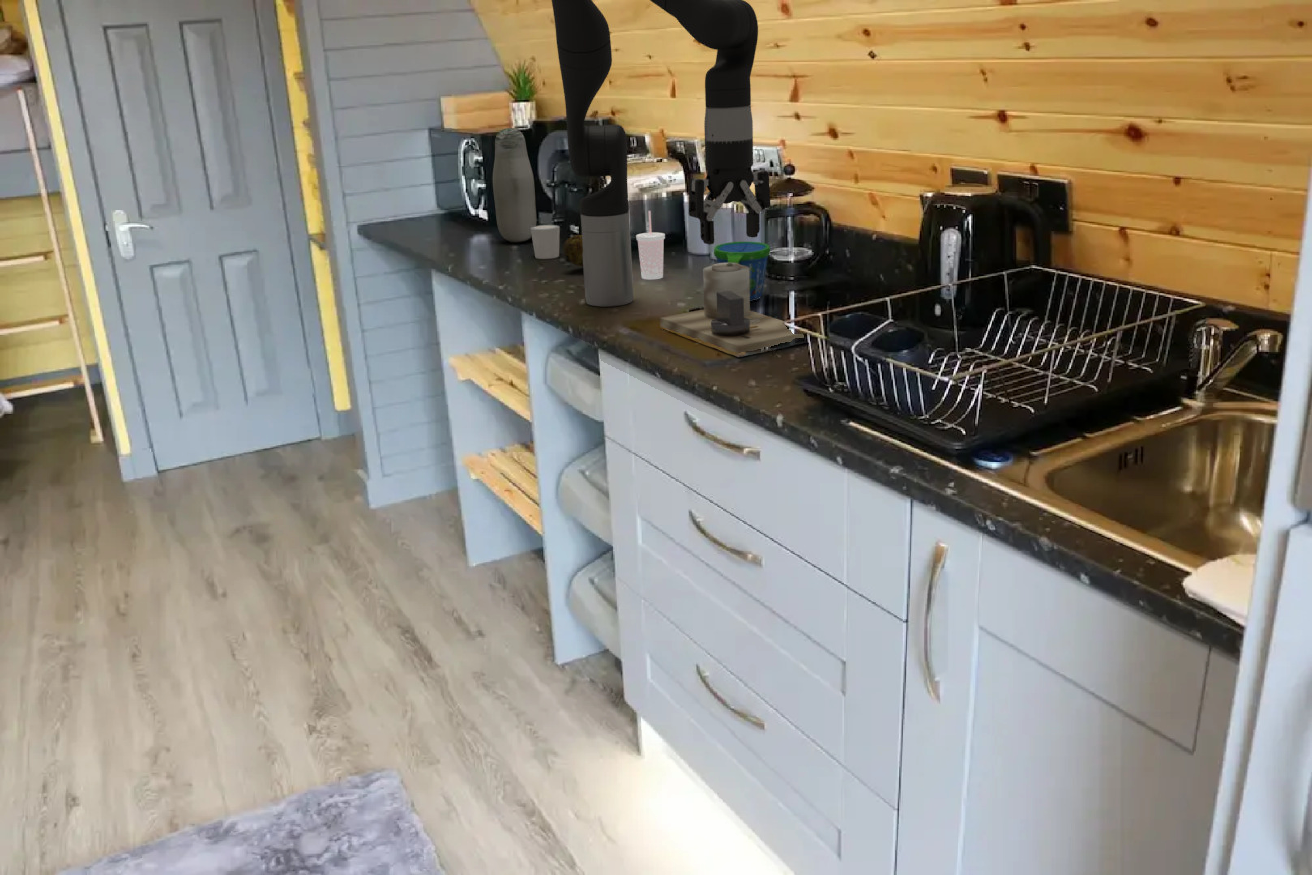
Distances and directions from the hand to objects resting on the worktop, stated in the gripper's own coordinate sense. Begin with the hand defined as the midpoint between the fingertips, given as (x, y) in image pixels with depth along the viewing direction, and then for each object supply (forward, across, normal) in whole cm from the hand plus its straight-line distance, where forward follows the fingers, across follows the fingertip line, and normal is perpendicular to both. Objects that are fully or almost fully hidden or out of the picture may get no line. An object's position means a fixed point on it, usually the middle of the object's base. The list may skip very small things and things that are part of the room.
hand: (730, 240), depth 179 cm
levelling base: (+17, +3, +4) cm, 18 cm away
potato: (+18, +11, +70) cm, 73 cm away
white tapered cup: (+18, +10, +91) cm, 93 cm away
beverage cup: (+18, +17, +54) cm, 59 cm away
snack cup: (+18, +20, +25) cm, 36 cm away
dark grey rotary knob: (+15, 0, 0) cm, 15 cm away
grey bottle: (+18, +14, +114) cm, 116 cm away
